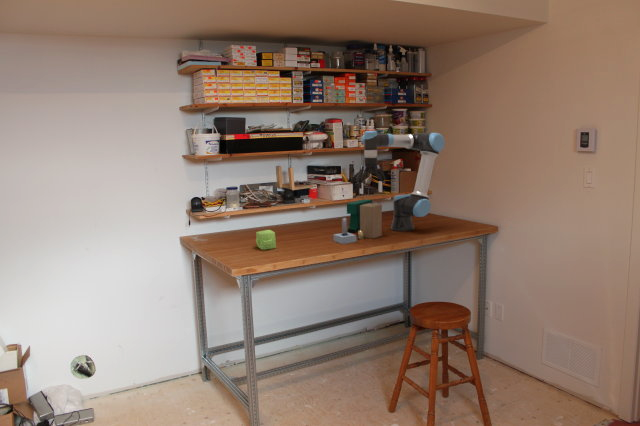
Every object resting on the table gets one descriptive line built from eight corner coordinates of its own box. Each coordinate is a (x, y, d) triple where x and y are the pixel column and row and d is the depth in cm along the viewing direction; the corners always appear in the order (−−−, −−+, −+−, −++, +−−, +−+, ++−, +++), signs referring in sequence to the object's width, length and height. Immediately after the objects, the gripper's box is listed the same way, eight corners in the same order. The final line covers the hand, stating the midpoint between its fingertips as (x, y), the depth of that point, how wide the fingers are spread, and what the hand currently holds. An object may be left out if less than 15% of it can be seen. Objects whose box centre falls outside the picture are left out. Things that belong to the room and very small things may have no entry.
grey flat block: (347, 238, 319) (347, 232, 318) (356, 241, 310) (356, 235, 309) (333, 240, 314) (333, 234, 313) (342, 243, 305) (342, 237, 305)
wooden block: (368, 234, 331) (368, 203, 328) (382, 235, 325) (382, 204, 322) (359, 236, 324) (359, 205, 320) (373, 238, 317) (373, 206, 314)
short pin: (361, 237, 321) (361, 230, 320) (364, 238, 318) (364, 230, 317) (357, 238, 319) (357, 230, 318) (359, 239, 316) (359, 231, 315)
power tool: (370, 226, 358) (369, 197, 354) (379, 227, 354) (379, 197, 351) (346, 234, 332) (345, 203, 329) (355, 235, 328) (355, 204, 325)
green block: (252, 246, 307) (251, 230, 306) (268, 243, 311) (267, 228, 310) (261, 251, 291) (259, 235, 289) (277, 249, 295) (276, 232, 293)
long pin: (345, 240, 314) (345, 217, 312) (348, 241, 311) (348, 218, 309) (341, 241, 313) (340, 218, 310) (344, 242, 310) (343, 219, 307)
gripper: (384, 156, 315) (384, 190, 318) (349, 157, 303) (349, 194, 306) (391, 156, 308) (391, 191, 312) (356, 158, 296) (356, 195, 300)
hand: (371, 193), depth 309 cm, fingers open, 13 cm apart
